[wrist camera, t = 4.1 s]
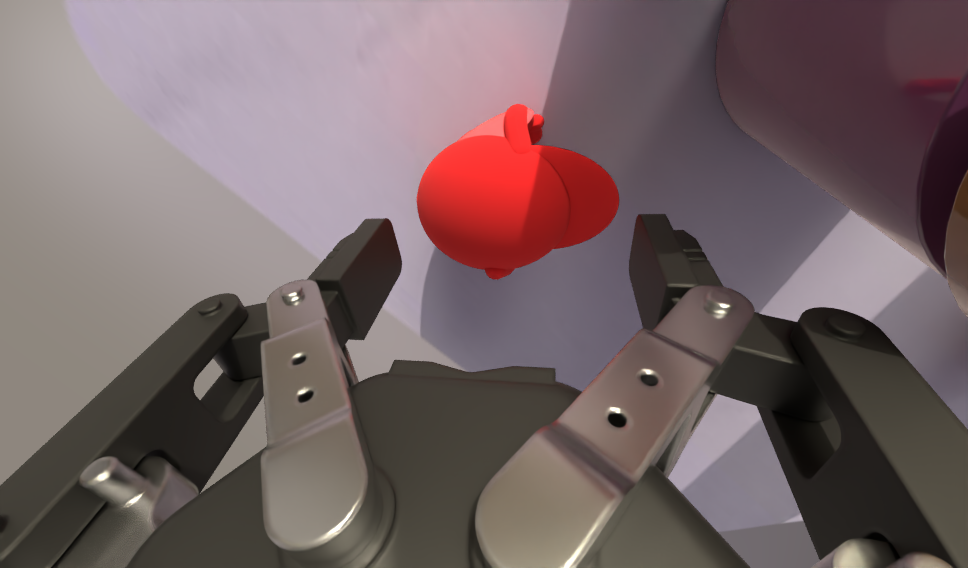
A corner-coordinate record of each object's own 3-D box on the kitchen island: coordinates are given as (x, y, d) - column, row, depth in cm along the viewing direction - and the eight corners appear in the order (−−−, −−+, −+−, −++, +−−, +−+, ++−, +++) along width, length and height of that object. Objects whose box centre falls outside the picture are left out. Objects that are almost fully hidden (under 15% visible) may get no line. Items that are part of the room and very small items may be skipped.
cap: (475, 252, 20) (453, 330, 16) (409, 157, 18) (357, 217, 13) (620, 188, 17) (646, 262, 12) (567, 58, 14) (574, 90, 10)
